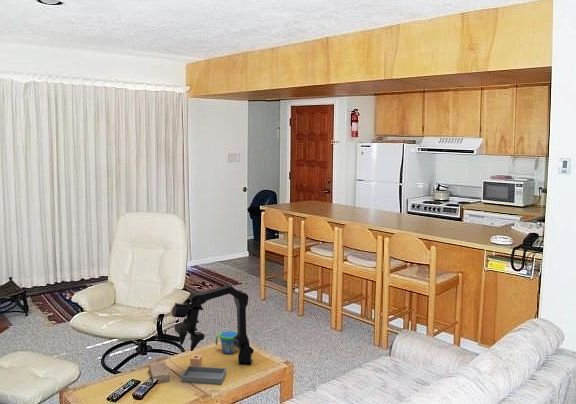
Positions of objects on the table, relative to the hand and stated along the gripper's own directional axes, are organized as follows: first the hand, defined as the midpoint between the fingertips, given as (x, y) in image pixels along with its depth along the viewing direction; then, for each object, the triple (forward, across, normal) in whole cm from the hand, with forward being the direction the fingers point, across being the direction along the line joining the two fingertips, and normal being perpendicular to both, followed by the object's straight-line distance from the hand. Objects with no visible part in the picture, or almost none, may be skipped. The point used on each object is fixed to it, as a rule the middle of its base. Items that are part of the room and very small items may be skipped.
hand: (186, 347), depth 264 cm
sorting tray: (+13, +9, +8) cm, 18 cm away
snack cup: (+8, -9, +37) cm, 39 cm away
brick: (+17, -8, -7) cm, 20 cm away
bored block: (+13, -5, +13) cm, 19 cm away
